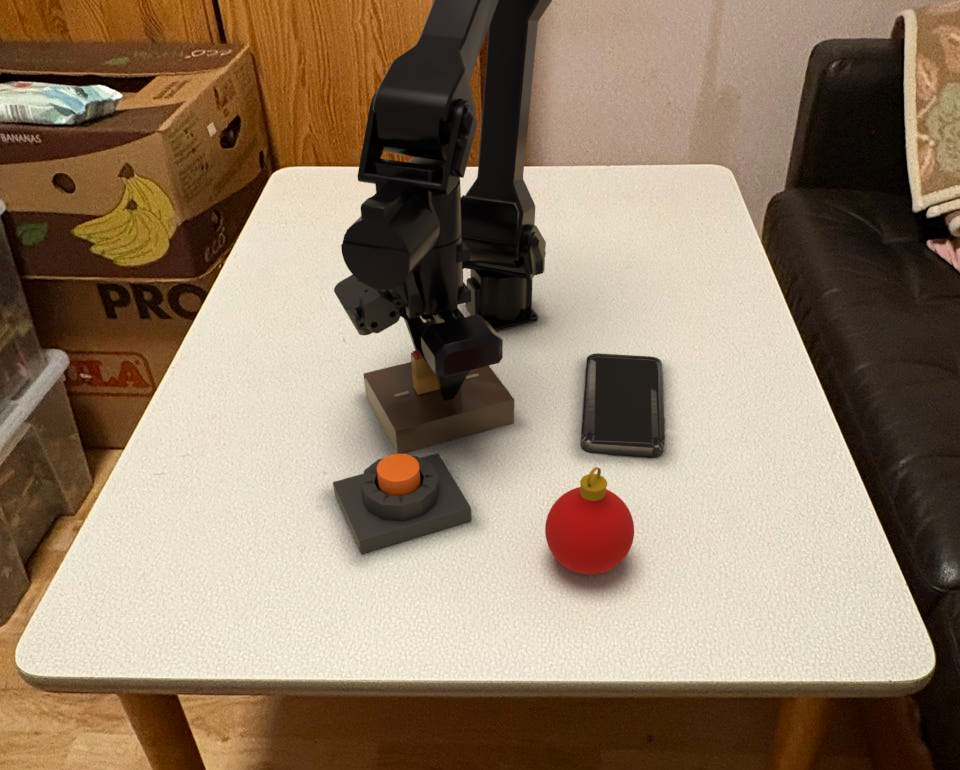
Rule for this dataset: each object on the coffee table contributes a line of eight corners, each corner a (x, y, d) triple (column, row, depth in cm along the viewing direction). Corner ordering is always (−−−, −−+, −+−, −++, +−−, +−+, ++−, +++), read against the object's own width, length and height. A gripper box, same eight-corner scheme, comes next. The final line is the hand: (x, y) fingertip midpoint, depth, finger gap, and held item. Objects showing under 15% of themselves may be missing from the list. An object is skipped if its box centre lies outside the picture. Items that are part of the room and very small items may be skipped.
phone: (580, 442, 85) (587, 352, 96) (579, 452, 86) (586, 361, 97) (666, 448, 84) (663, 356, 95) (664, 458, 85) (661, 365, 96)
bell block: (439, 466, 84) (437, 437, 82) (471, 521, 79) (470, 492, 77) (334, 495, 82) (329, 466, 79) (361, 555, 76) (356, 525, 74)
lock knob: (456, 376, 90) (454, 339, 87) (461, 384, 89) (460, 347, 86) (413, 387, 89) (410, 350, 86) (417, 395, 88) (415, 358, 85)
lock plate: (475, 369, 96) (474, 344, 94) (514, 423, 89) (514, 397, 87) (366, 397, 93) (362, 372, 90) (397, 455, 86) (395, 429, 84)
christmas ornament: (576, 518, 79) (583, 428, 72) (646, 555, 76) (660, 464, 69) (526, 565, 75) (529, 474, 68) (598, 606, 72) (608, 515, 65)
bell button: (412, 464, 80) (410, 449, 79) (426, 489, 77) (425, 474, 76) (373, 475, 79) (371, 459, 78) (386, 501, 76) (384, 485, 75)
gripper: (309, 206, 82) (330, 351, 93) (372, 305, 69) (388, 460, 80) (424, 184, 85) (432, 327, 96) (505, 275, 72) (504, 428, 83)
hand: (437, 381), depth 88 cm, fingers open, 6 cm apart
